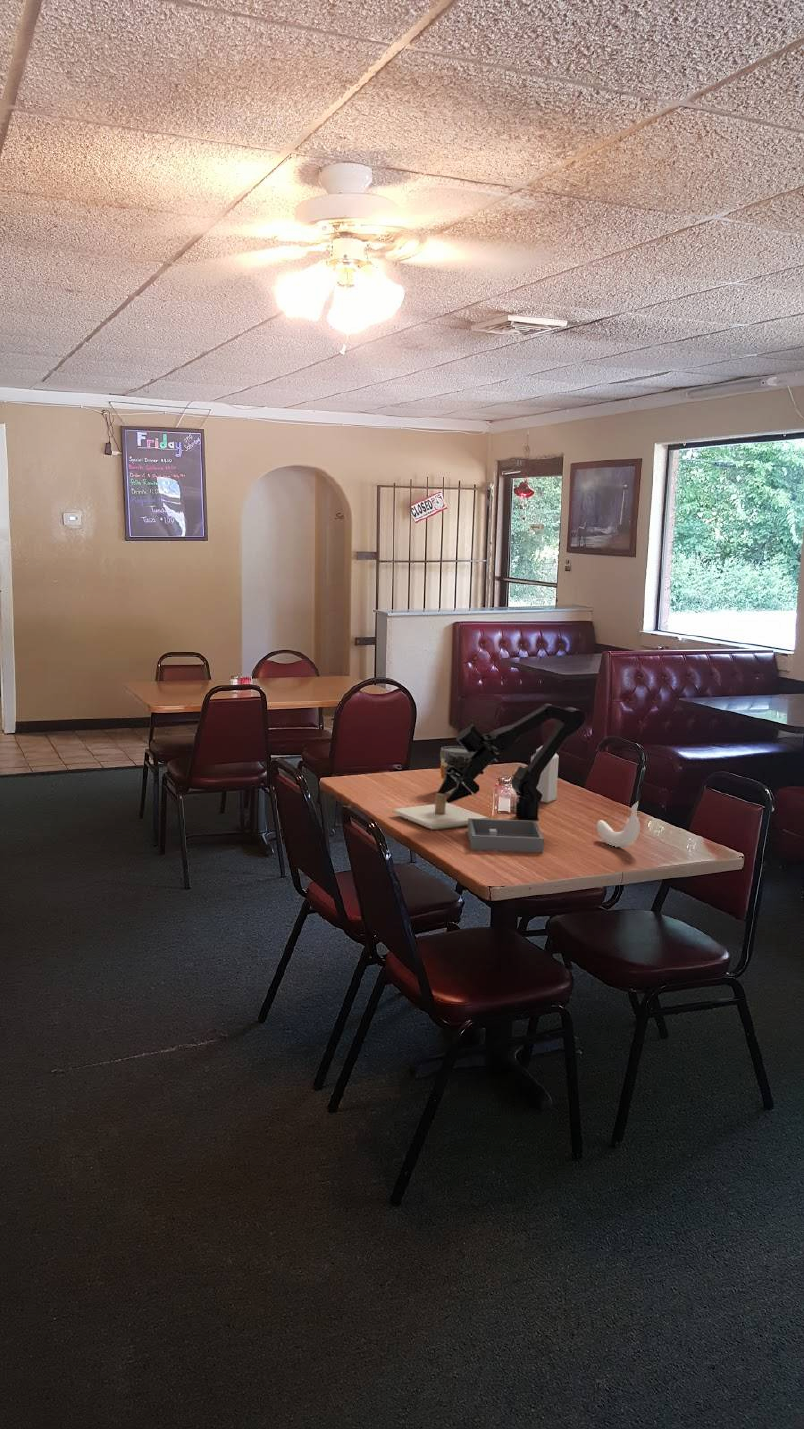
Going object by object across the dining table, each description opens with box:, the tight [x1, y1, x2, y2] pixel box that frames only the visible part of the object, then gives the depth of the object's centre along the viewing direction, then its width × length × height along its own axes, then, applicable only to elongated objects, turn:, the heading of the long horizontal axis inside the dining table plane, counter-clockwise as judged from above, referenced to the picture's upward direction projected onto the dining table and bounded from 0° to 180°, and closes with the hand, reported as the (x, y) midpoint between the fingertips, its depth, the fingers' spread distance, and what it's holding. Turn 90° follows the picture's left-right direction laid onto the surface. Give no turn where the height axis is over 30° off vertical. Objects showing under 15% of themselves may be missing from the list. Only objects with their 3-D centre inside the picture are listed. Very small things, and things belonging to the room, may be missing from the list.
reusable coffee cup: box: [439, 745, 475, 795], centre depth 369 cm, size 12×13×15 cm
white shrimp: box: [596, 801, 641, 849], centre depth 307 cm, size 5×19×15 cm, turn 28°
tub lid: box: [392, 792, 489, 831], centre depth 329 cm, size 21×21×8 cm
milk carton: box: [530, 745, 560, 804], centre depth 362 cm, size 7×7×19 cm
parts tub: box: [467, 818, 545, 853], centre depth 308 cm, size 20×20×4 cm
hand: (442, 798), depth 329 cm, fingers open, 9 cm apart
